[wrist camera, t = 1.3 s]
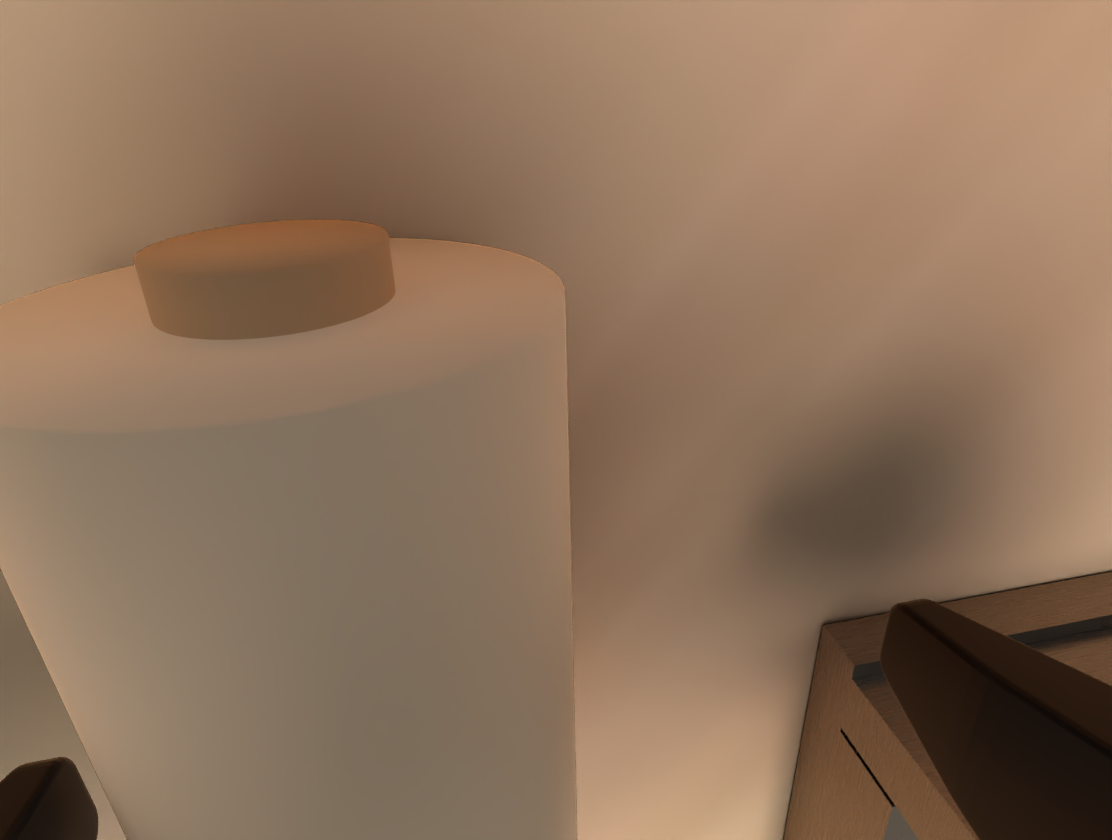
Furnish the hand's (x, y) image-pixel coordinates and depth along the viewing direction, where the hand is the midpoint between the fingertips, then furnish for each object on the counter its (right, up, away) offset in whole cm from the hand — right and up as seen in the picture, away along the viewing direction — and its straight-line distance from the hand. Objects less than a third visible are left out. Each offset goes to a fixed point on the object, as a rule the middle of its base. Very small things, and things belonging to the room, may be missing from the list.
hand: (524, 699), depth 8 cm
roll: (-1, +1, +2) cm, 3 cm away
